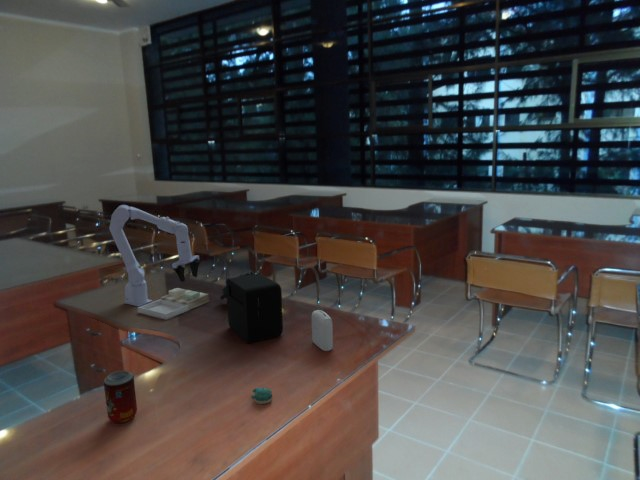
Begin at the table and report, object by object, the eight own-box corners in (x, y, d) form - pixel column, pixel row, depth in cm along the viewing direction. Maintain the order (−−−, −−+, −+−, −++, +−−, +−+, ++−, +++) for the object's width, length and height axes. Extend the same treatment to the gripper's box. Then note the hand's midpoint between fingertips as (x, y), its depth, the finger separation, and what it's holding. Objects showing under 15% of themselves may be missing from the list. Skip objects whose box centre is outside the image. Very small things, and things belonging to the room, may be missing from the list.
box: (138, 313, 197) (137, 307, 196) (161, 304, 207) (160, 299, 207) (166, 320, 189) (166, 314, 188) (188, 310, 199) (188, 305, 198)
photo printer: (310, 341, 166) (309, 308, 164) (321, 339, 168) (320, 306, 165) (323, 352, 157) (322, 317, 155) (334, 350, 159) (334, 315, 156)
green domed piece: (256, 408, 125) (255, 395, 124) (247, 395, 131) (246, 383, 131) (276, 402, 128) (276, 389, 127) (266, 390, 134) (266, 378, 133)
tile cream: (168, 295, 209) (168, 290, 208) (177, 292, 213) (177, 287, 212) (176, 296, 206) (176, 292, 206) (185, 293, 210) (184, 289, 210)
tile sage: (183, 298, 204) (182, 293, 204) (191, 294, 208) (191, 290, 208) (191, 300, 202) (191, 295, 201) (199, 296, 206) (199, 292, 205)
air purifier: (286, 336, 171) (284, 284, 167) (248, 345, 163) (246, 291, 159) (263, 319, 188) (261, 271, 184) (228, 327, 180) (225, 277, 176)
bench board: (161, 304, 207) (161, 297, 206) (183, 296, 218) (183, 289, 217) (187, 310, 199) (187, 302, 198) (209, 301, 210) (208, 294, 209)
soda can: (103, 420, 120) (98, 376, 118) (129, 408, 126) (124, 366, 123) (116, 430, 116) (111, 385, 113) (143, 417, 121) (138, 374, 119)
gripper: (178, 254, 203) (183, 284, 206) (202, 246, 215) (206, 274, 218) (167, 253, 206) (172, 283, 209) (191, 245, 218) (195, 273, 221)
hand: (188, 278), depth 214 cm, fingers open, 7 cm apart
